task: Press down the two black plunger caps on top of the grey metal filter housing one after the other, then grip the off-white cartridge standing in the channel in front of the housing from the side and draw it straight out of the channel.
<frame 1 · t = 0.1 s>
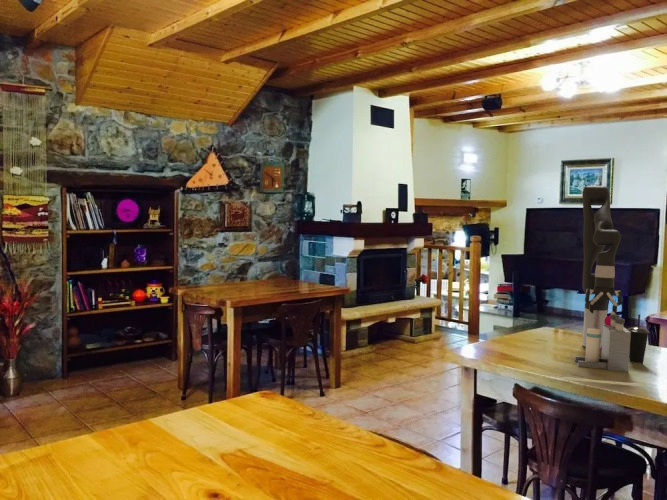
hand: (602, 313, 240), 17 cm above the table, tool pointing down, fingers open, 8 cm apart
plunger 1: (614, 323, 219), point 17 cm above the table, slide at 0.0 cm
filter housing: (614, 369, 217), on the table
pepper mill: (610, 360, 232), on the table
cartridge: (591, 364, 218), point 1 cm above the table, touching filter housing
drinking cup: (635, 363, 226), on the table
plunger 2: (619, 327, 211), point 17 cm above the table, slide at 0.0 cm
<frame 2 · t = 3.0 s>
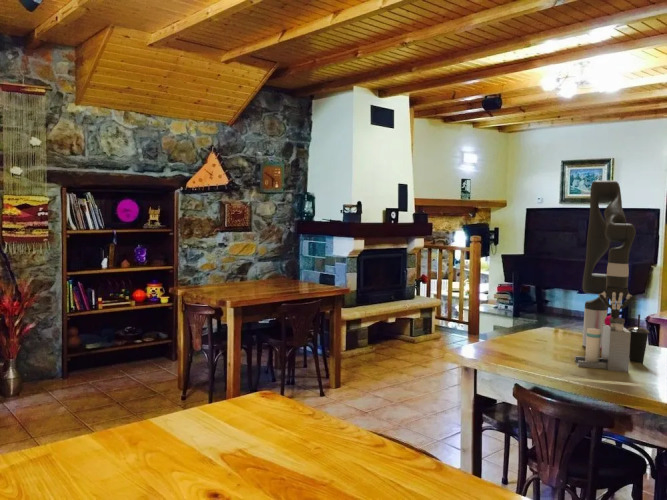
hand: (614, 318, 219), 19 cm above the table, tool pointing down, fingers closed
plunger 1: (614, 326, 219), point 16 cm above the table, slide at 1.3 cm, touching gripper
everything else where it was.
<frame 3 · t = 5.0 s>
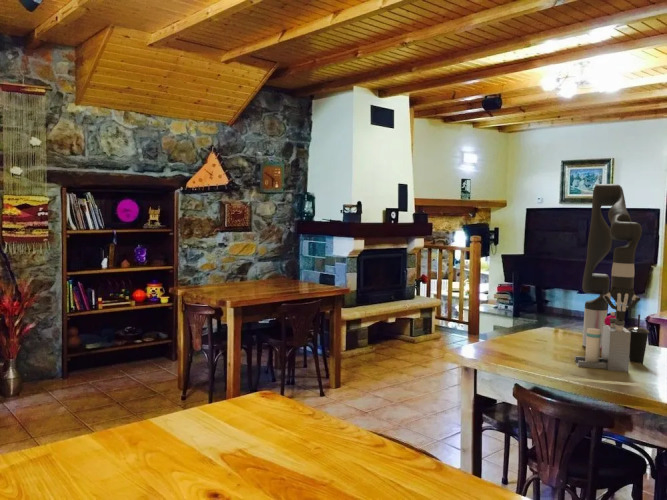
hand: (619, 320, 211), 20 cm above the table, tool pointing down, fingers closed
plunger 1: (614, 327, 219), point 16 cm above the table, slide at 1.4 cm
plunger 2: (619, 329, 212), point 17 cm above the table, slide at 0.7 cm, touching gripper
everything else where it was.
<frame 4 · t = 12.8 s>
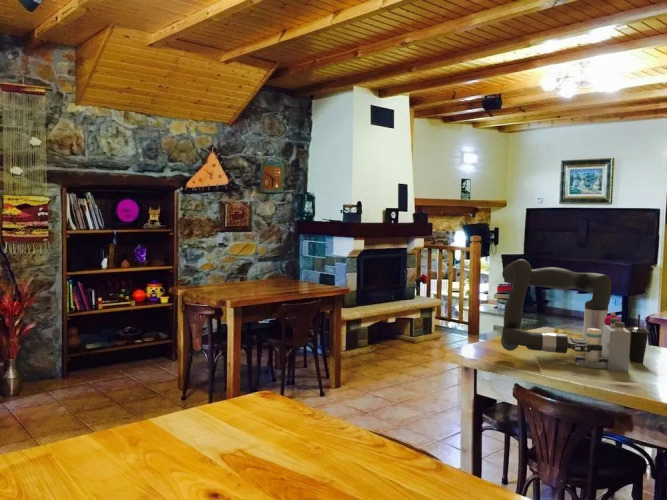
hand: (600, 346, 217), 8 cm above the table, tool horizontal, fingers closed on cartridge, 5 cm apart
cartridge: (591, 364, 218), point 1 cm above the table, touching filter housing, gripper
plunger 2: (619, 331, 212), point 16 cm above the table, slide at 1.4 cm
everything else where it was.
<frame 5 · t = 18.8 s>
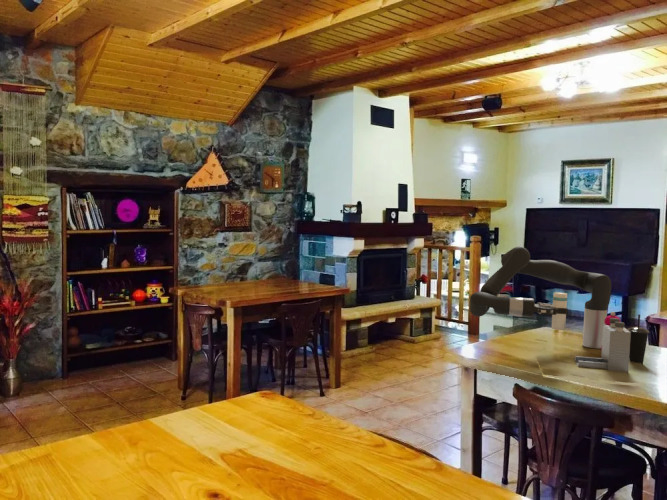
hand: (566, 310, 219), 22 cm above the table, tool horizontal, fingers closed on cartridge, 5 cm apart
cartridge: (558, 328, 221), point 14 cm above the table, touching gripper
everything else where it was.
at the end: cartridge inside the target area (0.0 cm from its centre), point 14.4 cm above the table; the gripper is holding cartridge; plunger 1 slide at 1.4 cm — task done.
